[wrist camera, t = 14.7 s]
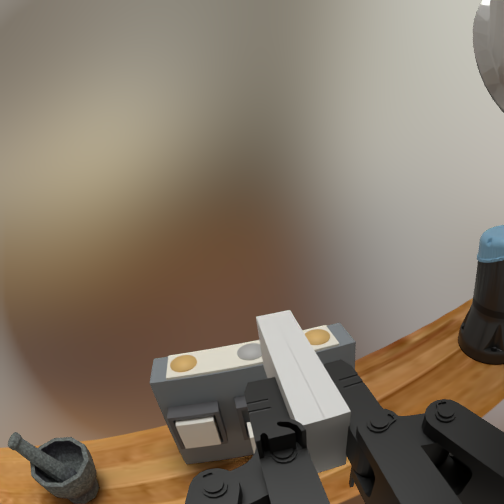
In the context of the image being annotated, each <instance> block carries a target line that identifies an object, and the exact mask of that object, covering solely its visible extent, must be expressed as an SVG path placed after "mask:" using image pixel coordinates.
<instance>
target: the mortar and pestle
mask: <svg viewBox="0 0 504 504" xmlns="http://www.w3.org/2000/svg"><path fill="white" fill-rule="evenodd" d="M8 446H9V448H11V449H12V450H16V451H17V452H18V453H20V454H21V455H22V456H23V457H25V458H26V459H27V460H29V461H30V464H31V475H32V477H33V478H34V479H35V480H36V481H37V482H38V483H39V484H40V485H42V486H43V487H44V488H45V489H46V490H48V491H49V492H50V493H51V494H53V495H54V496H56V497H59V498H67V499H69V500H70V501H71V502H73V503H76V504H86V503H87V502H89V501H90V500H92V499H93V498H95V497H96V494H97V492H98V490H99V485H98V482H97V479H96V469H95V466H94V462H93V459H92V457H91V454H90V452H89V450H88V449H87V447H86V446H85V445H84V444H82V443H81V442H79V441H77V440H75V439H74V438H72V437H68V438H67V437H66V438H54V439H52V440H50V441H49V442H47V443H45V444H43V445H41V446H40V447H39V448H36V447H35V446H33V445H31V444H30V443H28V442H27V441H25V440H24V439H22V437H21V435H19V434H18V433H17V432H15V433H13V434H12V435H11V437H10V439H9V441H8Z"/></svg>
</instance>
